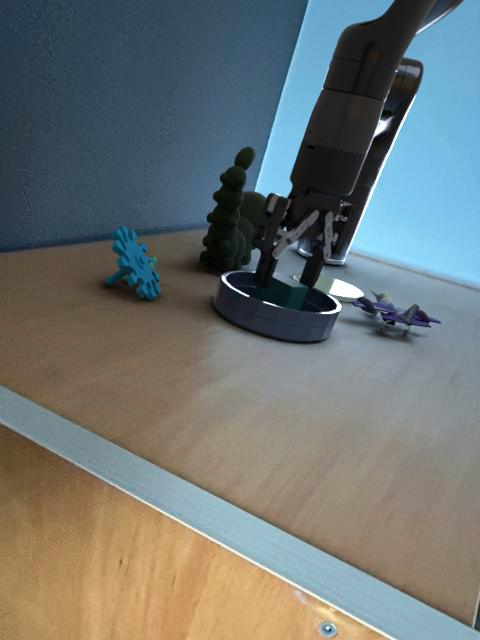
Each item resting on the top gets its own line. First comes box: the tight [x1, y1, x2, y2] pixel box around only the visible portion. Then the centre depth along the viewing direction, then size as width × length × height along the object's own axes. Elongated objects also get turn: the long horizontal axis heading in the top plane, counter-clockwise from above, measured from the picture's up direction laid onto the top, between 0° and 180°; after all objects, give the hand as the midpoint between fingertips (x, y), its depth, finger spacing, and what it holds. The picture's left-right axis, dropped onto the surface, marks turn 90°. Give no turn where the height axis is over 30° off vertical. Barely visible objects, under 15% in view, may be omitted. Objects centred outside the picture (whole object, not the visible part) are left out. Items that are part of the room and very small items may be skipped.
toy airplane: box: [350, 289, 442, 338], centre depth 85 cm, size 13×14×4 cm
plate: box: [292, 272, 365, 303], centre depth 98 cm, size 12×12×1 cm
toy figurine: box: [198, 146, 268, 272], centre depth 94 cm, size 9×19×25 cm
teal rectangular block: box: [253, 271, 309, 311], centre depth 76 cm, size 6×3×5 cm, turn 29°
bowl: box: [213, 270, 343, 343], centre depth 77 cm, size 16×16×4 cm
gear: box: [105, 224, 162, 301], centre depth 76 cm, size 11×6×10 cm
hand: (283, 286), depth 75 cm, fingers open, 8 cm apart
